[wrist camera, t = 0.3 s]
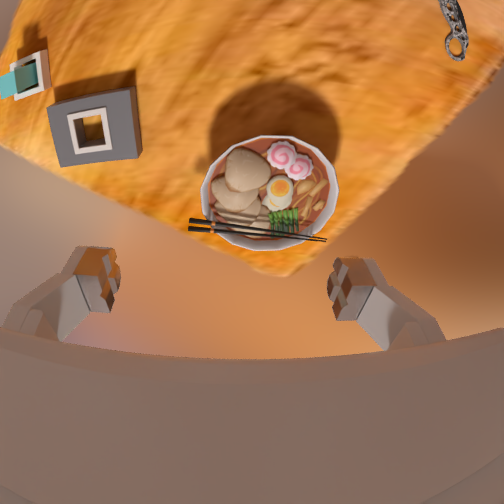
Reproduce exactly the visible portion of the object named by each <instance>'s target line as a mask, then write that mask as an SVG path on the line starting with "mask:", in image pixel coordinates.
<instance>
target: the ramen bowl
mask: <svg viewBox="0 0 504 504" xmlns="http://www.w3.org/2000/svg"><path fill="white" fill-rule="evenodd" d="M200 192H201V203H202V212H203V214H204V216H205V217H206V219H207V220H202V219H195V218H190V219H189V223H195V224H204V225H210V226H211V228H204V227H194V226H189V227H188V231H195V232H209V233H211V232H212V233H217V234H218V235H220V236H221V237H223V238H224V239H225V240H227V241H228V242H230V243H231V244H233V245H237V246H240V247H243V248H247V249H250V250H254V251H268V250H281V249H284V248H288V247H291V246H294V245H297V244H301V243H302V242H304V241H305V240H310V241H322V240H314V239H308V238H318V239H325V238H320V237H314V236H313V235H314V234H316V233H317V232H318V231H320V230H321V229H322V227H323V226H324V225H325V224H326V222H327V221H328V220H329V218H330V217H331V216H332V214H333V213H334V211H335V207H336V202H337V198H338V194H339V186H338V181H337V177H336V172H335V168H334V166H333V165H332V164H331V163H330V162H329V160H328V159H327V158H326V157H325V156H324V154H323V153H322V152H321V151H320V150H319V149H318V148H317V147H315V146H313V145H310V144H308V143H306V142H304V141H302V140H300V139H298V138H296V137H294V136H281V135H260V136H257V137H254V138H251V139H248V140H245V141H243V142H240V143H237V144H234V145H232V146H230V147H229V148H228V149H227V150H226V151H225V152H224V153H223V154H222V155H221V156H220V157H219V158H218V159H217V160H215V161H214V162H213V163H212V164H211V165H210V167H209V170H208V172H207V174H206V177H205V179H204V181H203V184H202V186H201V189H200ZM325 240H327V239H325ZM322 242H326V241H322Z"/></svg>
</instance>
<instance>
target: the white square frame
mask: <svg viewBox="0 0 504 504" xmlns="http://www.w3.org/2000/svg"><path fill="white" fill-rule="evenodd" d="M34 59H36V66H37V74H38V82H39V86H37V87H34V88H31V89H28V90H26V91H25V89H24V90H22V91H20V92H18V93H16V94H14V99H15V101H16V100H19V99H21V98H24V97H27V96H29V95H32V94H35V93H38V92H41V91H44V90H46V89H48V88H50V87H52V86H51V79H50V71H49V61H48V50H47V49H46V50H42V51H39V52H36V53H34V54H32V55H29V56H27V57H25V58H22V59H20V60H18V61H16V62H14V63H12V64H10V72H12V71H14V70H16V69H19V68H21V67H22V64H24V63H27V62H29V61H31V60H34Z"/></svg>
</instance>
